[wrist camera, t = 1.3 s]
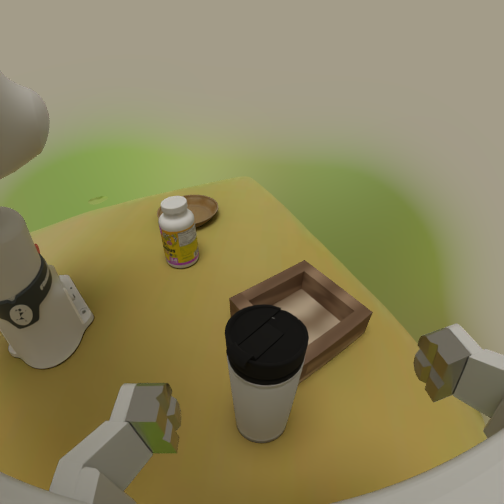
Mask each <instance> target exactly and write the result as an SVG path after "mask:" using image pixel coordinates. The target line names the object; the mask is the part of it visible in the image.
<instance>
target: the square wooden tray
mask: <svg viewBox="0 0 504 504" xmlns="http://www.w3.org/2000/svg"><path fill="white" fill-rule="evenodd" d="M229 301H230V313H231V317H232V316H233V315H234V314H235V313H236V312H237V311H239V310H241V309H243V308H246V307H248V306H253V305H261V304H266V305H273V306H276V307H280V308H281V310H285V311H287V312H289V313H291V314H293V315H294V316H296V317H297V318H298V320H299V319H300V320H301V321H302V322H303V324H304V325H305V326H306V328H307V331H308V336H309V340H308V346H307V350H306V354H305V360H304V364H303V368H302V372H301V375H300V379H299V383H300V382H302V381H303V380H305V379H306V378H307V377H309V376H310V375H311V374H313V373H314V372H315V371H317V370H318V369H319V368H321V367H322V366H323V365H325V364H326V363H327V362H329V361H330V360H331V359H332V358H334V357H335V356H336V355H338V354H339V353H340V352H341V351H343V350H344V349H345V348H346V347H348V346H349V345H350V344H351V343H352V342H354V341H355V340H356V339H357V338H358V337H360V336H361V335H362V334H363V333H364V331H365V329H366V327H367V325H368V322H369V320H370V317H371V315H372V313H373V312H372V311H370V310H369V309H368V308H366V307H365V306H364V305H363V304H361V303H360V302H359V301H357V300H356V299H355V298H354V297H352V296H351V295H350V294H348V293H347V292H346V291H344V290H343V289H342V288H341V287H339V286H338V285H337V284H335V283H334V282H333V281H331V280H330V279H329V278H328V277H326V276H325V275H324V274H322V273H321V272H320V271H318V270H317V269H316V268H314V267H313V266H312V265H310V264H309V263H308V262H306V261H305V260H304V261H302V262H300V263H298V264H296V265H294V266H292V267H290V268H288V269H286V270H285V271H283V272H281V273H279V274H277V275H275V276H273V277H271V278H269V279H267V280H265V281H263V282H261V283H259V284H257V285H255V286H253V287H251V288H249V289H247V290H245V291H243V292H241V293H239V294H237V295H235V296H233V297H231V298H229ZM299 383H298V384H299Z"/></svg>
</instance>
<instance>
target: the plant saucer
mask: <svg viewBox="0 0 504 504" xmlns="http://www.w3.org/2000/svg"><path fill="white" fill-rule="evenodd" d="M182 197H184V198H186V200H187V205H188V206H187V209H189V210H190V211H191V212H192V213H193V215H194V219H195V228H196V227H199V226H201V225H203V224H205V223H206V222H208V221H209V220H210V219H211V218H212V217H213V216H214V215H215V213H216V212H217V210H218V204H217V202H216V201H215V200H214V199H212V198H210V197H207V196H203V195H186V196H182ZM162 213H163V212H162V210H161V207H160V208H159V209H158V212H157V216H158V218H159V217H160V216H161V214H162Z"/></svg>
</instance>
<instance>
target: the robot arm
mask: <svg viewBox="0 0 504 504" xmlns="http://www.w3.org/2000/svg"><path fill="white" fill-rule="evenodd" d="M48 132H49V114H48V110H47V107H46V105H45V103H44V101H43V99H42V98H41V97H40V96H39V94H37V93H36V92H35V91H34V90H32V89H30V88H28V87H24V86H22V85H19V84H17V83H15V82H13V81H11V80H10V79H9V78H7V77H6V76H5V75H4V74H3V73H2V72H1V71H0V179H2V178H4V177H6V176H8V175H9V174H11V173H13V172H15V171H16V170H18V169H19V168H21V167H22V166H23V165H25V164H26V163H28V162H29V161H30V160H32V159H33V158H34V157H36V156H37V155H39V154H40V153H41V152H42V150H43V148H44V146H45V143H46V141H47V137H48ZM93 319H94V315H93V314H92V312H91V310H90V309H89V307H88V306H87V304H86V303H85V301H84V299H83V298H82V296H81V295H80V293H79V291H78V290H77V288H76V286H75V285H74V283H73V281H72V280H71V278H70V276H69V275H60V276H58V274H57V271H56V269H55V267H54V266H52V265H48V264H47V262H46V261H45V259H44V258H43V257H42V256H41V255H40V251H39V248H38V245H37V244H34V242H33V240H32V238H31V235H30V233H29V230H28V228H27V226H26V223H25V220H24V219H23V217H22V216H21V215H20V214H19V213H18V212H17V211H15V210H13V209H11V208H7V207H0V331H1V332H2V334H3V335H4V337H5V338H6V340H7V341H8V343H9V347H8V350H9V352H10V354H11V355H12V356H14V357H17V358H21V359H22V360H23V361H24V362H25V363H27V364H28V365H29V366H31V367H34V368H40V369H44V368H50V367H53V366H56V365H58V364H60V363H61V362H63V361H64V360H66V359H67V358H68V357H69V356H70V355H71V354H72V353H73V352H74V351H75V349H76V348H77V346H78V345H79V343H80V341H81V338H82V336H83V333H84V331H85V329H86V328H87V327H88V326H89V325H90V323H91V322H92V321H93ZM418 347H419V348H420V350H419V351H418V352H417V353H416V355H415V358H414V370H415V373H416V375H417V377H418V379H419V380H420V381H422V382H424V383H426V386H425V390H426V392H427V393H428V395H429V396H430V398H431V400H432V401H433V402H436V401H438V400H441V399H443V398H446V397H448V396H450V395H453V396H454V397H456V398H458V399H459V400H461V401H463V402H464V403H466V404H468V405H469V406H471V407H473V408H474V409H476V410H478V411H479V412H481V413H483V414H485V415H486V416H488V417H490V418H491V419H490V420H489V422H488V423H487V425H486V426H485V428H484V433H485V435H486V436H487V438H488V439H486V440H484V441H483V442H481V443H480V444H478V445H476V446H474V447H473V448H471V449H469V450H467V451H466V452H464V453H462V454H460V455H458V456H456V457H455V458H453V459H451V460H449V461H447V462H445V463H443V464H441V465H439V466H437V467H434V468H432V469H430V470H428V471H426V472H423V473H421V474H419V475H417V476H414V477H412V478H409V479H407V480H404V481H402V482H399V483H396V484H394V485H391V486H388V487H385V488H383V489H380V490H377V491H374V492H370V493H367V494H364V495H361V496H357V497H354V498H350V499H346V500H342V501H338V502H334V503H330V504H504V355H502V354H499V353H496V352H494V351H491V350H488V349H484V350H482V348H481V347H480V346H479V345H478V344H477V343H476V342H475V341H474V340H473V339H472V338H471V336H470V335H469V334H468V333H467V332H466V331H465V330H464V329H463V328H462V327H461V326H460V325H459V324H454V325H451V326H448V327H445V328H442V329H440V330H437V331H434V332H431V333H428V334H426V335H423V336H421V337H420V339H419V341H418ZM171 394H172V389H171V387H170V385H169V384H168V383H138V384H129V383H124V384H123V385H122V386H121V388H120V391H119V393H118V396H117V399H116V402H115V405H114V408H113V411H112V414H111V417H110V420H109V421H105V422H104V423H102V424H101V425H100V426H99V427H98V428H97V429H95V430H94V431H93V432H92V433H91V434H90V435H88V436H87V437H86V438H85V439H84V440H83V441H81V442H80V443H79V444H78V445H77V446H75V447H74V448H73V449H72V450H71V451H69V452H68V453H67V454H66V455H65V456H63V457H62V458H61V459H60V460H59V462H58V465H57V468H56V471H55V474H54V477H53V480H52V483H51V486H50V489H49V491H47V490H44V489H41V488H38V487H36V486H33V485H30V484H28V483H25V482H23V481H20V480H18V479H15V478H13V477H11V476H9V475H6V474H4V473H2V472H0V504H136V502H135V501H134V499H132V498H131V497H130V496H128V495H127V494H126V493H125V492H123V491H124V490H125V489H126V488H127V486H128V485H129V484H130V483H131V481H132V480H133V479H134V478H135V476H136V475H137V474H138V473H139V471H140V470H141V469H142V468H143V466H144V465H145V464H146V463H147V461H148V460H149V459H150V458H151V456H152V455H153V454H152V453H177V451H178V443H179V435H178V434H177V432H176V430H177V429H178V428H179V427H180V426H181V410H180V406H179V403H178V401H177V399H175V398H174V397H172V396H171Z"/></svg>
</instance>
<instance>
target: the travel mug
mask: <svg viewBox="0 0 504 504" xmlns="http://www.w3.org/2000/svg"><path fill="white" fill-rule="evenodd" d="M225 338H226V346H227V350H226V352H227V360H228V368H229V375H230V382H231V390H232V397H233V404H234V411H235V417H236V424H237V428H238V430H239V432H240V433H241V435H243V436H244V437H245V438H246V439H248V440H250V441H252V442H256V443H266V442H270V441H273V440H275V439H276V438H278V437H279V436H280V435H281V434H282V433H283V431H284V429H285V427H286V424H287V421H288V417H289V414H290V411H291V407H292V404H293V400H294V397H295V393H296V390H297V386H298V383H299V379H300V375H301V372H302V368H303V364H304V360H305V354H306V350H307V346H308V340H309V336H308V331H307V328H306V326H305V325H304V324H303V322H302V321H301V320H300V319H299V320H298V318H297V317H296V316H294V315H293V314H291V313H289V312H287V311H285V310H281V308H280V307H276V306H273V305H266V304H261V305H253V306H248V307H246V308H243V309H241V310H239V311H237V312H236V313H235V314H234V315H233V316H232V317H231V318H230V319H229V320H228V322H227V325H226V328H225Z"/></svg>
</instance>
